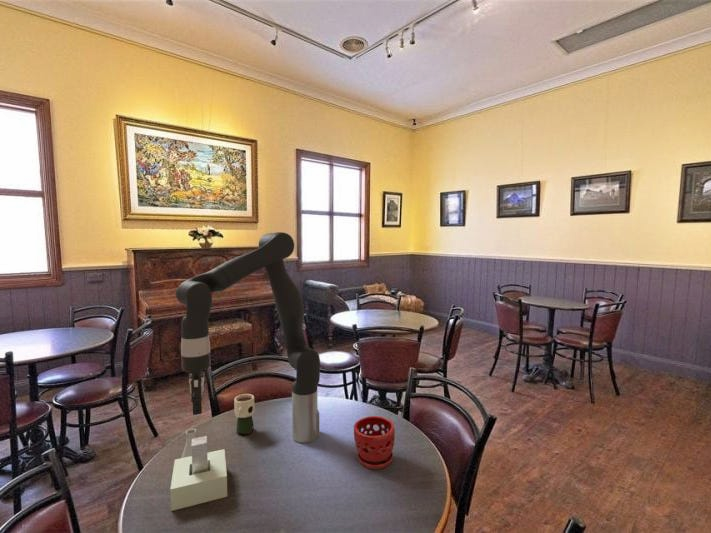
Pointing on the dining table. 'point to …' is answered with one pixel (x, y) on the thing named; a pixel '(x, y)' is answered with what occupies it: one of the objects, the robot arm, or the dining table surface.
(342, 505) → the dining table surface
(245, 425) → the character mug
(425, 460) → the dining table surface
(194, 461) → the rectangular block
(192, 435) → the flask
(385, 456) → the plant pot
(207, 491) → the well block
